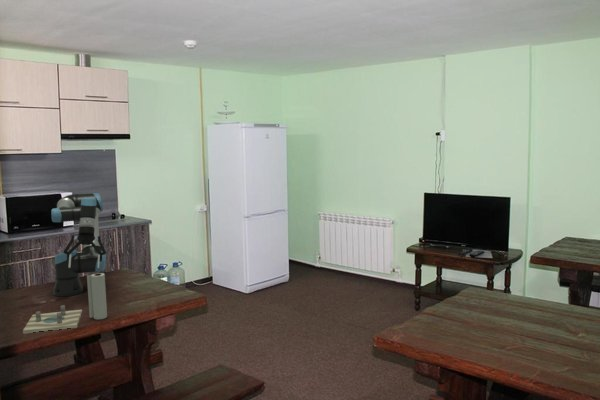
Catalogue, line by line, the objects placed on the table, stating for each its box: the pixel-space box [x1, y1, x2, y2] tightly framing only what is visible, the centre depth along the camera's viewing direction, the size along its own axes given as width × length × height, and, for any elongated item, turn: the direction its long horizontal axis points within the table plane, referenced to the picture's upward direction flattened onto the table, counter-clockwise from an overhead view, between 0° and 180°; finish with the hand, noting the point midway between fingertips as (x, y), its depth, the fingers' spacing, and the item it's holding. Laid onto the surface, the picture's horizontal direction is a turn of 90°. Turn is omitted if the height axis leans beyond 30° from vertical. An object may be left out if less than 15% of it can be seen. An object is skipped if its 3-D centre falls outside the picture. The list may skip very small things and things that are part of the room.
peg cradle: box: [22, 304, 83, 335], centre depth 238 cm, size 22×22×6 cm
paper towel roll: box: [86, 272, 108, 320], centre depth 243 cm, size 7×6×21 cm
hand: (83, 267), depth 260 cm, fingers open, 13 cm apart
